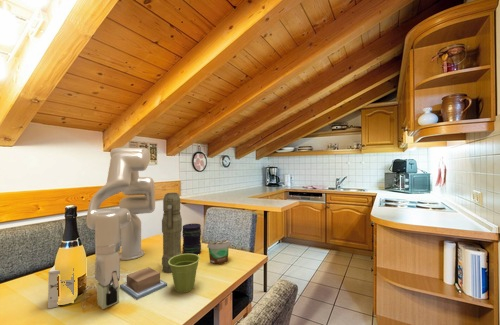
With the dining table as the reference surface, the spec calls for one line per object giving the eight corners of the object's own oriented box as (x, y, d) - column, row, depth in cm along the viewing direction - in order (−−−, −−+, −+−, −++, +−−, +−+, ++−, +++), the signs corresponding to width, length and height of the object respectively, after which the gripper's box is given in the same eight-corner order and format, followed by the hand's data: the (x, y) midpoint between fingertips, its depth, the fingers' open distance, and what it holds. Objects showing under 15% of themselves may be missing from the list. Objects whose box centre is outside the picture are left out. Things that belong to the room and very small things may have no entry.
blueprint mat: (119, 287, 90) (119, 284, 90) (149, 275, 100) (149, 273, 100) (136, 299, 82) (136, 296, 82) (167, 285, 91) (167, 283, 91)
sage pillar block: (97, 303, 80) (97, 283, 80) (113, 297, 84) (113, 277, 84) (103, 309, 77) (103, 288, 77) (119, 302, 80) (119, 282, 81)
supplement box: (47, 309, 77) (47, 271, 77) (55, 298, 84) (55, 263, 84) (74, 304, 80) (74, 267, 80) (80, 293, 87) (80, 259, 87)
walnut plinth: (126, 285, 90) (126, 275, 90) (148, 276, 97) (148, 267, 97) (137, 292, 84) (137, 281, 85) (160, 283, 92) (160, 272, 92)
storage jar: (178, 254, 125) (178, 226, 125) (192, 248, 133) (192, 222, 133) (191, 257, 119) (190, 229, 120) (204, 252, 127) (204, 224, 128)
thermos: (160, 276, 100) (160, 195, 100) (163, 265, 111) (162, 192, 112) (182, 273, 102) (181, 194, 103) (182, 262, 113) (181, 191, 114)
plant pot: (164, 287, 90) (164, 258, 91) (193, 278, 97) (192, 251, 98) (174, 300, 81) (173, 268, 81) (205, 289, 88) (204, 260, 88)
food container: (214, 268, 107) (214, 246, 107) (207, 264, 111) (207, 243, 112) (235, 260, 115) (235, 240, 115) (228, 257, 120) (227, 237, 120)
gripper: (87, 246, 83) (87, 297, 82) (105, 257, 72) (105, 315, 72) (110, 240, 89) (110, 288, 88) (130, 250, 78) (130, 304, 78)
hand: (108, 300), depth 80 cm, fingers closed on sage pillar block, 5 cm apart
